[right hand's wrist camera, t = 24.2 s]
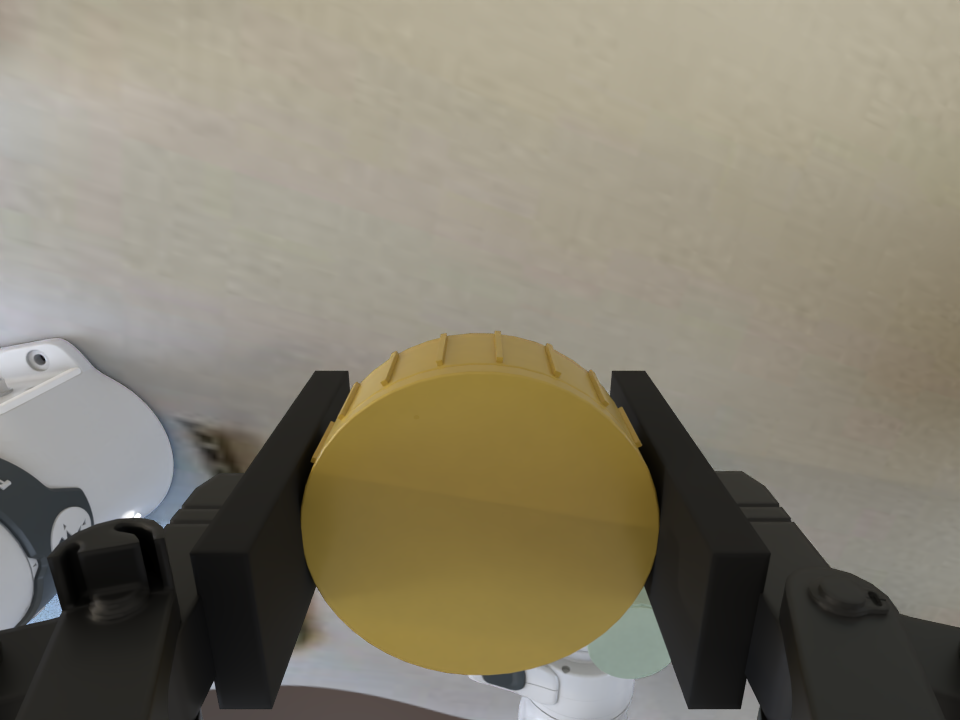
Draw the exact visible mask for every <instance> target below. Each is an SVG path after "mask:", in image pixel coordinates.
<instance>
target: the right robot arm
mask: <svg viewBox="0 0 960 720" xmlns="http://www.w3.org/2000/svg"><path fill="white" fill-rule="evenodd" d="M349 393H350V386H349V373H348V371H315V372H314V374H313V375H312V376H311V378H310V379H309V381H308V382H307V384H306V385H305V387H304V388H303V389H302V391H301V392H300V394H299V395H298V397H297V398H296V400H295V401H294V402H293V404H292V405H291V407H290V408H289V410H288V411H287V413H286V414H285V416H284V417H283V418H282V420H281V421H280V423H279V424H278V426H277V427H276V429H275V430H274V431H273V433H272V434H271V436H270V437H269V439H268V440H267V442H266V443H265V444H264V446H263V447H262V449H261V450H260V452H259V453H258V455H257V456H256V457H255V459H254V460H253V462H252V463H251V465H250V466H249V468H248V469H247V470H246V472H245V473H218V474H217V475H215V476H214V477H212V478H211V479H209V480H208V481H206V482H205V483H203V484H202V485H200V486H198V487H197V488H196V489H195V490H194V491H193V492H192V494H191V495H190V496H189V497H188V499H187V500H186V501H185V502H184V504H183V505H182V509H179V510H178V511H177V512H176V514H175V515H174V516H173V517H172V519H171V520H170V524H167V525H166V526H165V527H164V529H163V527H162V526H160V525H159V524H158V523H156V522H155V521H154V520H149V519H144V518H139V517H135V518H119V519H114V520H110V521H106V522H102V523H98V524H95V525H93V526H91V527H88V528H86V529H84V530H81V531H79V532H77V533H75V534H73V535H72V536H70V537H69V538H67V539H66V540H64V541H63V542H61V543H60V544H58V545H57V546H56V547H55V549H54V550H53V551H52V552H51V553H50V555H49V556H48V557H47V560H48V564H49V567H50V570H51V574H52V577H53V581H54V584H55V588H56V591H57V594H58V598H59V601H60V605H61V608H62V613H61V615H60V617H57V618H54V619H50V620H46V621H42V622H37V623H32V624H28V625H23V626H19V627H14V628H9V629H5V630H0V720H203V717H202V713H201V706H202V704H203V702H204V700H205V698H206V696H207V694H208V692H209V690H210V688H211V686H212V683H213V681H214V682H215V687H216V692H217V698H218V703H219V708H220V709H272V707H273V705H274V702H275V699H276V696H277V693H278V691H279V688H280V685H281V682H282V680H283V677H284V674H285V671H286V669H287V666H288V663H289V660H290V657H291V655H292V652H293V649H294V646H295V644H296V641H297V638H298V635H299V633H300V630H301V627H302V624H303V621H304V619H305V616H306V613H307V610H308V608H309V605H310V602H311V599H312V597H313V594H314V591H315V588H316V585H315V583H314V580H313V578H312V576H311V573H310V571H309V569H308V566H307V563H306V559H305V555H304V548H303V540H302V531H301V517H300V516H301V504H302V499H303V494H304V489H305V485H306V483H307V480H308V477H309V475H310V472H311V469H312V467H313V465H314V463H312V462H311V459H312V457H313V455H314V453H315V451H316V449H317V447H318V445H319V443H320V441H321V439H322V437H323V435H324V434H325V432H326V430H327V428H328V426H329V424H330V422H331V421H332V422H335V421H336V419H337V417H338V415H339V413H340V411H341V409H342V407H343V405H344V403H345V401H346V399H347V397H348V395H349ZM610 397H611V398H612V400H613V401H614V402H615V404H616V406H617V408H620V407H623V409H624V411H625V413H626V415H627V417H628V419H629V421H630V423H631V425H632V427H633V429H634V430H635V432H636V434H637V436H638V438H639V440H640V442H641V444H642V446H641V447H639V448H638V449H639V451H640V453H641V455H642V457H643V459H644V461H645V463H646V465H647V467H648V469H649V472H650V474H651V477H652V480H653V483H654V486H655V489H656V494H657V499H658V504H659V512H660V525H659V535H658V543H657V551H656V556H655V559H654V563H653V566H652V569H651V572H650V574H649V576H648V578H647V580H646V583H645V585H644V587H645V590H646V593H647V595H648V598H649V601H650V604H651V607H652V609H653V612H654V615H655V618H656V620H657V623H658V626H659V629H660V631H661V634H662V637H663V640H664V643H665V645H666V648H667V651H668V654H669V656H670V659H671V662H672V665H673V667H674V670H675V673H676V676H677V679H678V681H679V684H680V687H681V690H682V692H683V695H684V698H685V701H686V703H687V706H688V709H741V705H742V700H743V695H744V689H745V684H746V679H747V680H748V682H749V684H750V686H751V688H752V690H753V692H754V694H755V696H756V698H757V700H758V702H759V704H760V708H759V713H758V717H757V720H960V628H959V627H954V626H949V625H945V624H940V623H936V622H931V621H926V620H922V619H917V618H913V617H909V616H905V615H902V614H899V612H898V610H897V608H896V607H895V606H894V604H893V603H892V602H891V600H890V599H889V597H888V596H887V595H885V594H884V593H883V592H882V591H880V590H879V589H878V588H876V587H875V586H874V585H873V584H871V583H869V582H867V581H865V580H863V579H861V578H859V577H857V576H855V575H853V574H851V573H847V572H844V571H840V570H837V569H833V568H831V567H830V566H829V565H828V564H827V563H826V561H825V560H824V559H823V558H822V556H821V555H820V554H819V553H818V551H817V550H816V549H815V548H814V546H813V545H812V544H811V543H810V541H809V540H808V539H807V538H806V536H805V535H804V534H803V533H802V531H801V530H800V529H799V528H798V527H797V525H796V524H795V523H794V522H791V518H790V517H789V515H788V514H787V513H786V512H785V510H784V509H783V508H782V507H779V503H778V502H777V500H776V499H775V498H774V497H773V495H772V494H771V493H770V492H769V491H768V489H767V488H766V487H765V486H764V485H762V484H761V483H759V482H758V481H756V480H755V479H753V478H751V477H750V476H748V475H747V474H745V473H744V472H742V471H714V470H713V468H712V467H711V466H710V464H709V463H708V461H707V460H706V458H705V457H704V455H703V454H702V453H701V451H700V450H699V448H698V447H697V445H696V444H695V442H694V441H693V439H692V438H691V437H690V435H689V434H688V432H687V431H686V429H685V428H684V426H683V425H682V424H681V422H680V421H679V419H678V418H677V416H676V415H675V413H674V412H673V411H672V409H671V408H670V406H669V405H668V403H667V402H666V400H665V399H664V398H663V396H662V395H661V393H660V392H659V390H658V389H657V387H656V386H655V385H654V383H653V382H652V380H651V379H650V377H649V376H648V374H647V373H646V372H645V371H612V378H611V391H610Z"/></svg>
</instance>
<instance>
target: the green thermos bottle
mask: <svg viewBox="0 0 960 720" xmlns="http://www.w3.org/2000/svg"><path fill="white" fill-rule="evenodd" d="M587 649H588V653H589V656H590V658H591V660H592V661H593V663H594V664H595V665H596V666H597V667H598V668H599V669H600V670H601V671H603V672H605V673H606V674H609V675H611V676H614V677H617V678H623V679H638V678H643V677H647V676H650V675H653V674H655V673H657V672H659V671H661V670H662V669H664V668H665V667H666V666H667V665H668V664H670V662H671V659H670V656H669V654H668V651H667V648H666V645H665V643H664V640H663V637H662V634H661V631H660V629H659V626H658V623H657V620H656V618H655V615H654V612H653V609H652V607H651V604H650V601H649V598H648V595H647V593H646V590H645V587H643V589H642V590H641V592H640V593H639V595H638V596H637V598H636V600H635V601H634V603H633V604H632V605H631V607H630V608H629V609H628V610H627V611H626V612H625V614H624V615H623V616H622V617H621V618H620V619H619V620H618V621H617V622H616V623H615V624H614V625H613V626H612V627H611V628H610V629H609V630H608V631H606V632H605V633H604V634H603V635H601V636H600V637H599V638H597V639H596V640H594V641H593V642H592V643H590V644H589V645H587Z"/></svg>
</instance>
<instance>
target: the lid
mask: <svg viewBox="0 0 960 720" xmlns="http://www.w3.org/2000/svg"><path fill="white" fill-rule="evenodd" d="M641 446H642V444H641V442H640V440H639V438H638V436H637V434H636V432H635V430H634V429H633V427H632V425H631V423H630V421H629V419H628V417H627V415H626V413H625V411H624V409H623V407H620V408H617V406H616V404H615V402H614V401H613V400H612V398H611V397H610V396H609V394H608V393H607V392H606V390H605V389H604V387H603V386H602V385H601V384H600V383H599V381H598V379H597V377H596V375H595V373H594V372H593V371H592V370H590V371H589V372H587V371H586V370H585V369H584V368H582V367H581V366H580V365H578V364H577V363H576V362H574V361H573V360H571V359H570V358H568V357H566V356H564V355H563V354H561V353H559V352H557V351H556V350H553V347H552V345H551V344H548V343H547V344H546V346H544V345H541V344H539V343H536V342H533V341H529V340H526V339H522V338H518V337H514V336H507V335H501V331H495V333H494V334H489V333H469V334H461V335H452V336H447V334H446V333H445V334H441V336H440V338H438V339H434V340H430V341H427V342H424V343H422V344H419V345H416V346H414V347H411V348H409V349H407V350H405V351H403V352H401V353H399V354H398V352H397V351H395V352H393V353H392V354H391V357H390V359H389V360H387V361H386V362H385V363H383V364H382V365H380V366H379V367H378V368H376V369H375V370H374V371H373V372H372V373H370V374H369V375H368V376H367V377H366V378H365V379H364V380H363V381H362V382H361V383H360V384H359V383H358V382H356V383H355V384H354V385H353V387H352V389H351V391H350V393H349V395H348V397H347V399H346V401H345V403H344V405H343V407H342V409H341V411H340V413H339V415H338V417H337V419H336V421H335V422H332V421H331V422H330V424H329V426H328V428H327V430H326V432H325V434H324V435H323V437H322V439H321V441H320V443H319V445H318V447H317V449H316V451H315V453H314V455H313V457H312V459H311V462H312V463H314V465H313V467H312V469H311V472H310V475H309V477H308V480H307V483H306V485H305V489H304V494H303V499H302V504H301V516H300V517H301V531H302V540H303V548H304V555H305V559H306V563H307V566H308V569H309V571H310V573H311V576H312V578H313V580H314V583H315V585H316V586H317V588H318V590H319V591H320V593H321V595H322V596H323V598H324V600H325V601H326V603H327V604H328V605H329V606H330V607H331V609H332V610H333V611H334V612H335V614H336V615H337V616H338V617H339V618H340V619H341V620H342V621H343V622H344V623H345V624H346V625H347V626H348V627H349V628H350V629H351V630H352V631H354V632H355V633H356V634H358V635H359V636H360V637H362V638H363V639H364V640H366V641H367V642H368V643H370V644H372V645H373V646H375V647H377V648H378V649H380V650H382V651H384V652H385V653H387V654H389V655H391V656H394V657H396V658H398V659H400V660H403V661H405V662H408V663H411V664H414V665H417V666H420V667H423V668H427V669H431V670H436V671H441V672H445V673H453V674H463V675H497V674H508V673H514V672H519V671H524V670H530V669H533V668H537V667H540V666H543V665H546V664H550V663H552V662H555V661H557V660H560V659H562V658H564V657H567V656H569V655H571V654H573V653H575V652H576V651H578V650H580V649H582V648H584V647H585V646H587V645H589V644H590V643H592V642H593V641H594V640H596V639H597V638H599V637H600V636H601V635H603V634H604V633H605V632H606V631H608V630H609V629H610V628H611V627H612V626H613V625H614V624H615V623H616V622H617V621H618V620H619V619H620V618H621V617H622V616H623V615H624V614H625V612H626V611H627V610H628V609H629V608H630V607H631V605H632V604H633V603H634V601H635V600H636V598H637V596H638V595H639V593H640V592H641V590H642V589H643V587H644V585H645V583H646V580H647V578H648V576H649V574H650V572H651V569H652V566H653V563H654V559H655V556H656V551H657V543H658V535H659V525H660V512H659V504H658V499H657V494H656V489H655V486H654V483H653V480H652V477H651V474H650V472H649V469H648V467H647V465H646V463H645V461H644V459H643V457H642V455H641V453H640V451H639V449H638V448H639V447H641Z"/></svg>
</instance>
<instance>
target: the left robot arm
mask: <svg viewBox="0 0 960 720" xmlns="http://www.w3.org/2000/svg"><path fill="white" fill-rule="evenodd" d="M40 355H42V356H44V358H45V359H46V361H44V360H42V358H41V356H40ZM173 470H174V462H173V453H172V448H171V445H170V441H169V439H168V436H167V434H166V432H165V430H164V428H163V426H162V424H161V423H160V421H159V419H158V418H157V417H156V415H155V414H154V412H153V411H152V410H151V409H150V408H149V407H148V405H147V404H146V403H145V402H144V401H143V400H142V399H140V398H139V397H138V396H137V395H136V394H135V393H133V392H132V391H131V390H129V389H128V388H127V387H125V386H124V385H122V384H120V383H119V382H117V381H115V380H113V379H112V378H110V377H108V376H106V375H104V374H103V373H101V372H100V371H98V370H97V369H96V368H94V367H93V366H92V364H91V363H90V362H89V361H88V360H87V359H86V358H85V357H84V356H83V354H82V353H81V352H80V351H79V350H78V349H77V348H76V347H75V346H73V345H72V344H71V343H70V342H68V341H66V340H64V339H61V338H52V339H46V340H40V341H35V342H29V343H24V344H18V345H13V346H7V347H2V348H0V630H5V629H9V628H14V627H19V626H23V625H26V624H27V623H28V622H29V621H30V620H31V619H32V618H34V617H35V616H37V615H38V614H39V613H40V612H41V611H42V610H43V609H44V608H45V605H46V604H47V603H48V602H49V601H50V600H51V599H52V598H53V597H54V596H55V595H56V594H57V591H56V588H55V584H54V581H53V577H52V574H51V570H50V567H49V564H48V560H47V557H48V556H49V555H50V553H51V552H52V551H53V550H54V549H55V547H56V546H57V545H58V544H60V543H61V542H63V541H64V540H66V539H67V538H69V537H70V536H72V535H73V534H75V533H77V532H79V531H81V530H84V529H86V528H88V527H91V526H93V525H95V524H98V523H102V522H106V521H110V520H114V519H119V518H135V517H139V518H144V517H146V516H147V515H149V514H150V513H151V512H152V511H154V510H155V509H156V508H157V507H158V506H159V505H160V503H161V502H162V501H163V499H164V498H165V496H166V494H167V493H168V490H169V488H170V485H171V482H172V477H173ZM468 677H469V678H470V679H472V680H474V681H476V682H479V683H483V684H487V685H490V686H494V687H498V688H501V689H504V690H508V691H511V692H514V693H517V694H519V695H522V698H521V701H520V705H519V712H518V720H628V719H627V714H626V712H627V710H628V708H629V706H630V703H631V700H632V696H633V690H634V682H635V679H623V678H617V677H614V676H611V675H609V674H606V673H605V672H603V671H601V670H600V669H599V668H598V667H597V666H596V665H595V664H594V663H593V661H592V660H591V658H590V656H589V653H588V649H587V646H585V647H584V648H582V649H580V650H578V651H576V652H575V653H573V654H571V655H569V656H567V657H564V658H562V659H560V660H557V661H555V662H552V663H550V664H546V665H543V666H540V667H537V668H533V669H530V670H524V671H519V672H514V673H508V674H497V675H468Z"/></svg>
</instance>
